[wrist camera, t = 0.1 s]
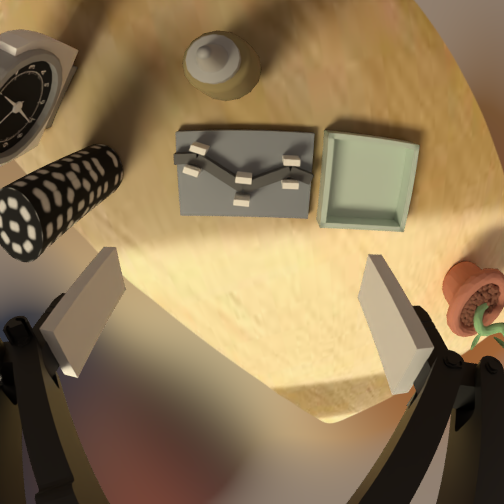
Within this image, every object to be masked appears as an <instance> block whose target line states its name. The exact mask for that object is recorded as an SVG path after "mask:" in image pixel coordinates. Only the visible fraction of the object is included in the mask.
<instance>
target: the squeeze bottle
mask: <svg viewBox="0 0 504 504" xmlns="http://www.w3.org/2000/svg"><path fill="white" fill-rule="evenodd" d="M182 64H183V69H184V74H185V77H186V78H187V79H188V81H189V82H190V83H191V85H192V86H194V87H195V88H197V89H198V90H200V91H201V92H203V93H204V94H206V95H208V96H209V97H211V98H213V99H217V100H223V101H229V100H234V99H239V98H241V97H243V96H244V95H246V94H248V93H249V92H251V91H252V89H253V88H254V87H255V85H256V84H257V83H258V81H259V77H260V73H261V65H260V59H259V56H258V55H257V54H256V52H255V51H254V49H253V48H252V47H251V46H250V45H249V44H248V43H247V42H245V41H244V40H243V39H242V38H240V37H238V36H236V35H235V34H233V33H231V32H225V31H213V32H209V33H204V34H203V35H201V36H200V37H198V38H196V39H195V40H193V41H192V43H191V44H190V45H189V47H188V48H187V50H186V51H185V54H184V59H183V63H182Z"/></svg>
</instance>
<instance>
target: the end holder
mask: <svg viewBox="0 0 504 504" xmlns="http://www.w3.org/2000/svg"><path fill="white" fill-rule="evenodd" d="M419 146H420V145H417V144H415V143H413V142H410V141H404V140H399V139H393V138H386V137H380V136H373V135H366V134H358V133H349V132H340V131H330V130H324V141H323V154H322V167H321V178H320V189H319V199H318V209H317V218H316V219H317V222H318V224H319V227H320V228H339V229H359V230H378V231H396V232H404V228H405V224H406V220H407V215H408V210H409V205H410V200H411V195H412V190H413V185H414V179H415V173H416V167H417V160H418V153H419Z"/></svg>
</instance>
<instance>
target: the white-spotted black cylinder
mask: <svg viewBox="0 0 504 504" xmlns="http://www.w3.org/2000/svg"><path fill="white" fill-rule="evenodd" d="M122 176H123V168H122V163H121V160H120V158H119V156H118V155H117V153H116V152H115V151H114V150H113V149H112V148H110V147H108V146H106V145H103V144H95V145H92V146H89V147H87V148H84V149H82V150H79V151H77V152H75V153H72V154H70V155H68V156H65V157H63V158H61V159H59V160H56V161H54V162H52V163H50V164H48V165H46V166H44V167H42V168H40V169H37V170H35V171H33V172H31V173H29V174H28V175H26V176H24V177H22V178H20V179H18V180H16V181H14V182H12V183H11V184H9V185H7V186H5V187H3V188H2V189H0V244H1V246H2V247H3V248H4V250H5V251H6V252H7V253H8V254H9V255H11V256H12V257H13V258H15V259H17V260H19V261H22V262H31V261H34V260H35V259H37V258H38V257H39V256H40V255H41V254H42V253H43V252H44V251H45V250H46V249H47V248H48V247H49V246H50V245H52V243H54V242H55V241H56V240H57V239H58V238H59V237H60V236H61V235H63V234H64V233H65V232H66V231H67V230H68V229H69V228H71V227H72V226H73V225H74V224H75V223H76V222H78V221H79V220H80V219H81V218H82V217H83V216H85V215H86V214H87V213H88V212H89V211H91V210H92V209H93V208H94V207H96V206H97V205H98V204H99V203H101V202H102V201H103V200H104V199H106V198H107V197H108V196H109V195H111V194H112V193H113V192H114V191H115V190H117V188H118V187H119V185H120V183H121V181H122Z"/></svg>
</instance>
